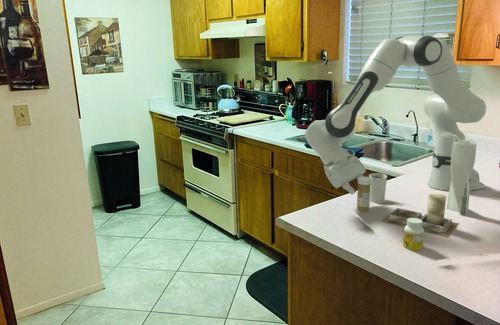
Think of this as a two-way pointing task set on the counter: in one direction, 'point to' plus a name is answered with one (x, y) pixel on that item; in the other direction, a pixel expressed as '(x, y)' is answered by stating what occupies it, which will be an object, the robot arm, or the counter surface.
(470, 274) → the counter surface
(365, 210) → the sprinkles bottle
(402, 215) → the brown holder tray
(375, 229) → the counter surface
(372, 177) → the white and black cylinder
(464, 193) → the skyscraper
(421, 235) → the supplement bottle
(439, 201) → the birch pin
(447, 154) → the robot arm
